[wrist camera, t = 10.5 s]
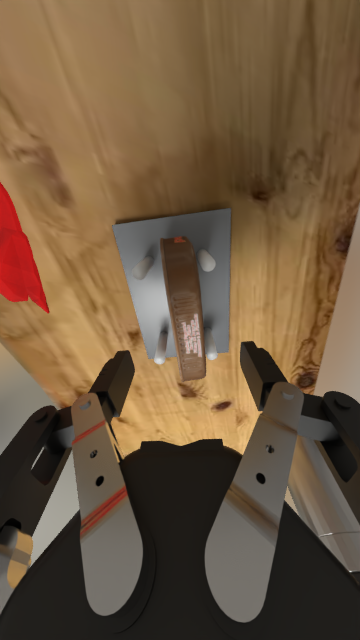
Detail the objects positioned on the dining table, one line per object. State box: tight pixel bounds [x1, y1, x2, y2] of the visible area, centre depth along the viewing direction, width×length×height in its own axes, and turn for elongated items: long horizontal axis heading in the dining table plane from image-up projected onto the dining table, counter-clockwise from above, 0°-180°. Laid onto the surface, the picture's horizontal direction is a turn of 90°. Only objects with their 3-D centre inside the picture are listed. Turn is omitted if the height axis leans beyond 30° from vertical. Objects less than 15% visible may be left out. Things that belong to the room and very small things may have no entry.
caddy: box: [112, 208, 231, 364], centre depth 20 cm, size 12×18×6 cm, turn 7°
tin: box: [160, 236, 206, 382], centre depth 18 cm, size 15×3×8 cm, turn 7°
